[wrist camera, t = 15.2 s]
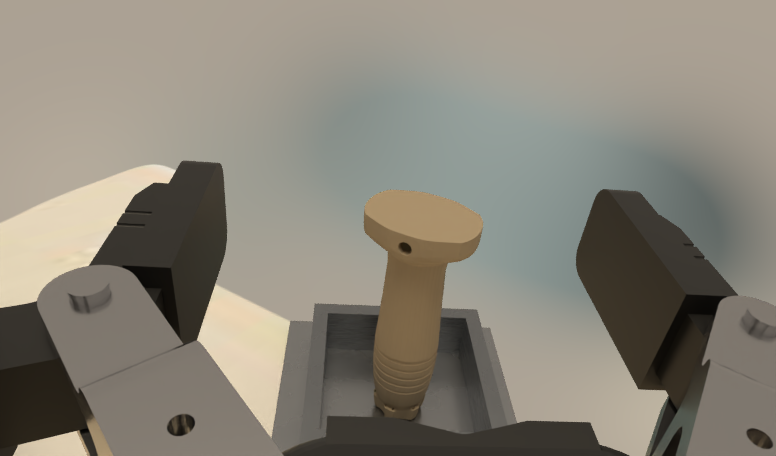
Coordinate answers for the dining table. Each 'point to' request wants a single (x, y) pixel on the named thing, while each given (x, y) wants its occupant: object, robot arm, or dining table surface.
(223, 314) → the dining table surface
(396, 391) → the handle
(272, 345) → the dining table surface
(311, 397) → the grey square tray
